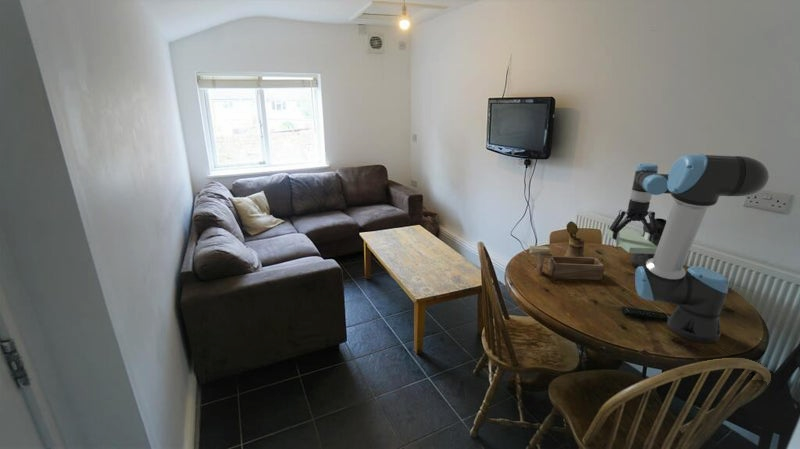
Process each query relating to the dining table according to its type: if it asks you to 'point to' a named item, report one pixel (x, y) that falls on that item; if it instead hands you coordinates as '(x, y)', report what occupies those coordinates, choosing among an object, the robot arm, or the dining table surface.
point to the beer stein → (640, 258)
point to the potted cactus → (574, 242)
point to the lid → (633, 242)
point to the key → (539, 250)
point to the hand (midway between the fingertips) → (629, 246)
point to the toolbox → (571, 267)
